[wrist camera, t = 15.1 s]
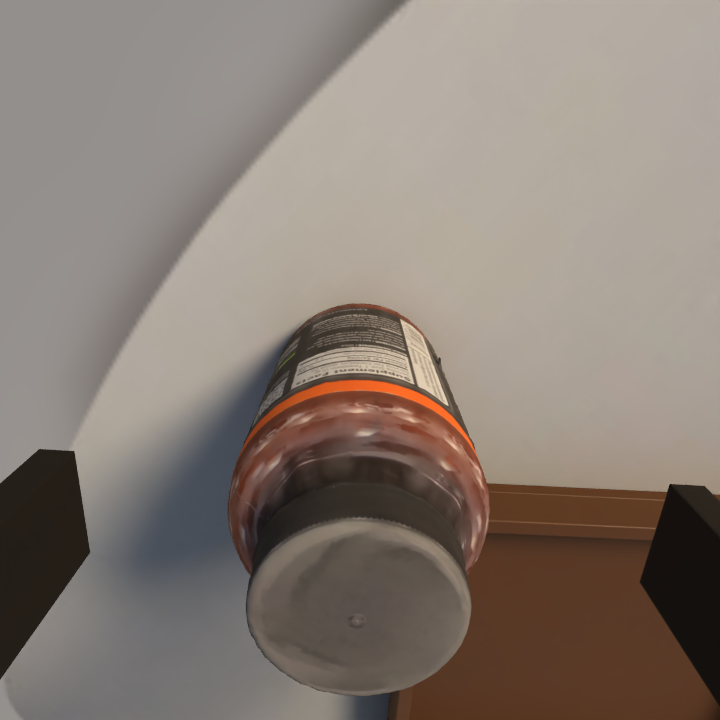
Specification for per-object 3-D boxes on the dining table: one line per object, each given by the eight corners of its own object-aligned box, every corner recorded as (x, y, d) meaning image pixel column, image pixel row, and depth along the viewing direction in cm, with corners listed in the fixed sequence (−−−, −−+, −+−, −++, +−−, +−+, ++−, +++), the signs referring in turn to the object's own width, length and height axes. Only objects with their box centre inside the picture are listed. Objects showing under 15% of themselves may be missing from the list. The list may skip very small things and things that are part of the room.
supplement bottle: (419, 456, 21) (478, 760, 10) (269, 432, 21) (172, 720, 10) (456, 313, 19) (578, 509, 8) (291, 283, 19) (197, 448, 8)
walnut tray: (385, 736, 27) (387, 788, 24) (412, 479, 21) (418, 517, 19) (721, 749, 27) (753, 803, 25) (831, 499, 22) (885, 539, 19)
